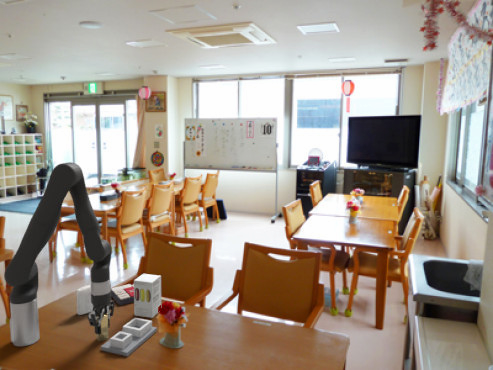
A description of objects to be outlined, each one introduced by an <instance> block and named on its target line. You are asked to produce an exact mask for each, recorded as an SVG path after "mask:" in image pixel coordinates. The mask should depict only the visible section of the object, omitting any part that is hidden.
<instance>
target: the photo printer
mask: <svg viewBox="0 0 493 370" xmlns="http://www.w3.org/2000/svg"><path fill="white" fill-rule="evenodd" d="M92 311H93V304H92V303H91V284H87V285H85V286H82V287H79V288H78V289H77V290H76V314H77V315H78V316H81V315H85V314H86V315H87V314H88V313H91V312H92Z"/></svg>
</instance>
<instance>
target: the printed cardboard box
mask: <svg viewBox="0 0 493 370" xmlns="http://www.w3.org/2000/svg"><path fill="white" fill-rule="evenodd" d="M111 299H113V301H115V303H117V304H118V305H119V306H124V305H128V304H131V303H132V304H133V303H134V285H132V284H131V283H128V284H124V285H120V286H115V287H111Z"/></svg>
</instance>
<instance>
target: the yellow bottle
mask: <svg viewBox="0 0 493 370" xmlns="http://www.w3.org/2000/svg"><path fill="white" fill-rule="evenodd" d="M97 317H98V318H100V317H99V316H97ZM97 322H98V320H97ZM100 325H101V334H100V335H98V334H96V341H98V342H105V341H106V342H107V341H108V340H109V339H110V338H109V328H108V314H107V313H106V314H104V315H103V319H102V320H101V324H100Z"/></svg>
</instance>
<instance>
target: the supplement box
mask: <svg viewBox="0 0 493 370" xmlns="http://www.w3.org/2000/svg"><path fill="white" fill-rule="evenodd" d="M133 287H134V302H133V304H134V306H133V309H134V311H133V313H134V314H133V315H134V316H136V317H143V318H145V317H146V318H149V319H153V318H154V317H155V316H156V315H157V314H158V313H159V312H158V307H159V306H160V305H161V306H162V275H157V274H148V273H142V274H141V275H139V276H138V277H137V278H135V279H134V280H133Z"/></svg>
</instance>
